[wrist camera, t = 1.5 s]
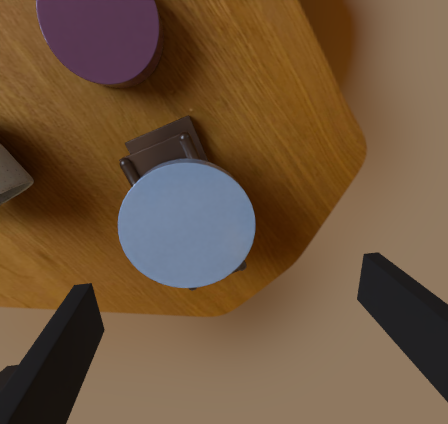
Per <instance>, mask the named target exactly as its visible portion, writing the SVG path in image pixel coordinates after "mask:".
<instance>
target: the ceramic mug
mask: <svg viewBox="0 0 448 424" xmlns="http://www.w3.org/2000/svg"><path fill="white" fill-rule="evenodd" d="M33 183H34V180H33V178H32V177H31V176H30V175H29V174H28V173H27V172H26V171H25V170H24V168H23V167H22V166H21V165H20V164H19V163H18V162H17V161H16V160H15V159H14V158H13V156H12V155H11V154H10V153H9V152H8V151H7V150H6V149H5V148H4V147H3V146H2V144H1V143H0V205H1V204H3V203H5V202H7V201H8V200H10V199H12V198H13V197H15V196H17V195H19V194H20V193H22V192H23V191H25V190H26V189H27V188H29V187H30V186H31V185H32V184H33Z"/></svg>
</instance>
